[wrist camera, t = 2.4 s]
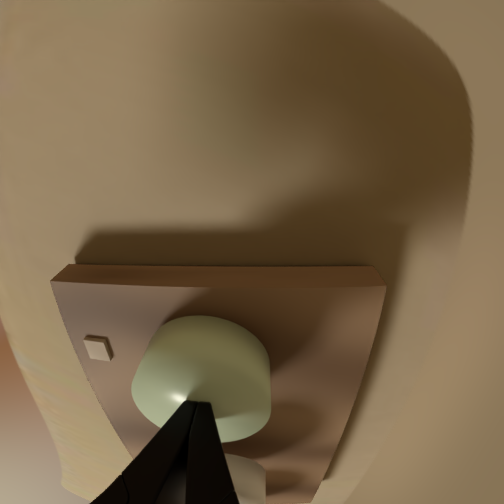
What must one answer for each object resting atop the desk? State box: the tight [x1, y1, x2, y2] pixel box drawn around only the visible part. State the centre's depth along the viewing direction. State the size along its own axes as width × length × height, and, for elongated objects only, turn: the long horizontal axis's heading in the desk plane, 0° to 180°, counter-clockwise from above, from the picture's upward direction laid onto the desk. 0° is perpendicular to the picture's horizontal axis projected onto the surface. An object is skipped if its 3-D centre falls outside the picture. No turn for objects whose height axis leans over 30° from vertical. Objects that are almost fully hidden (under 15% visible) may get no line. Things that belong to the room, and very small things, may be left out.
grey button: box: [224, 453, 266, 504], centre depth 11 cm, size 4×4×2 cm
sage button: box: [131, 315, 271, 443], centre depth 9 cm, size 4×4×2 cm
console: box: [50, 264, 387, 504], centre depth 14 cm, size 20×12×2 cm, turn 1°
